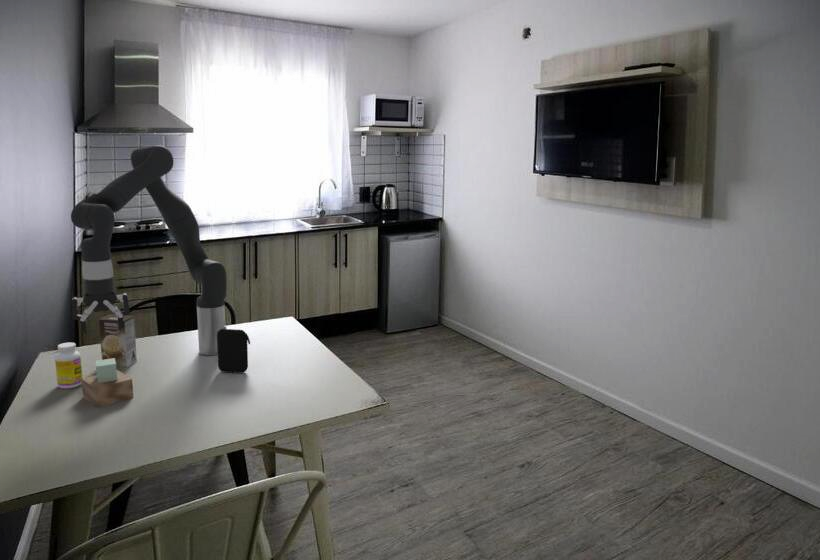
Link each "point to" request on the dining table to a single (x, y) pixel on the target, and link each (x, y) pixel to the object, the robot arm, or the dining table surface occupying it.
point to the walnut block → (107, 390)
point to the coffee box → (118, 340)
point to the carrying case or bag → (232, 350)
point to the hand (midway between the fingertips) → (103, 331)
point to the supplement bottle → (68, 366)
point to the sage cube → (106, 370)
